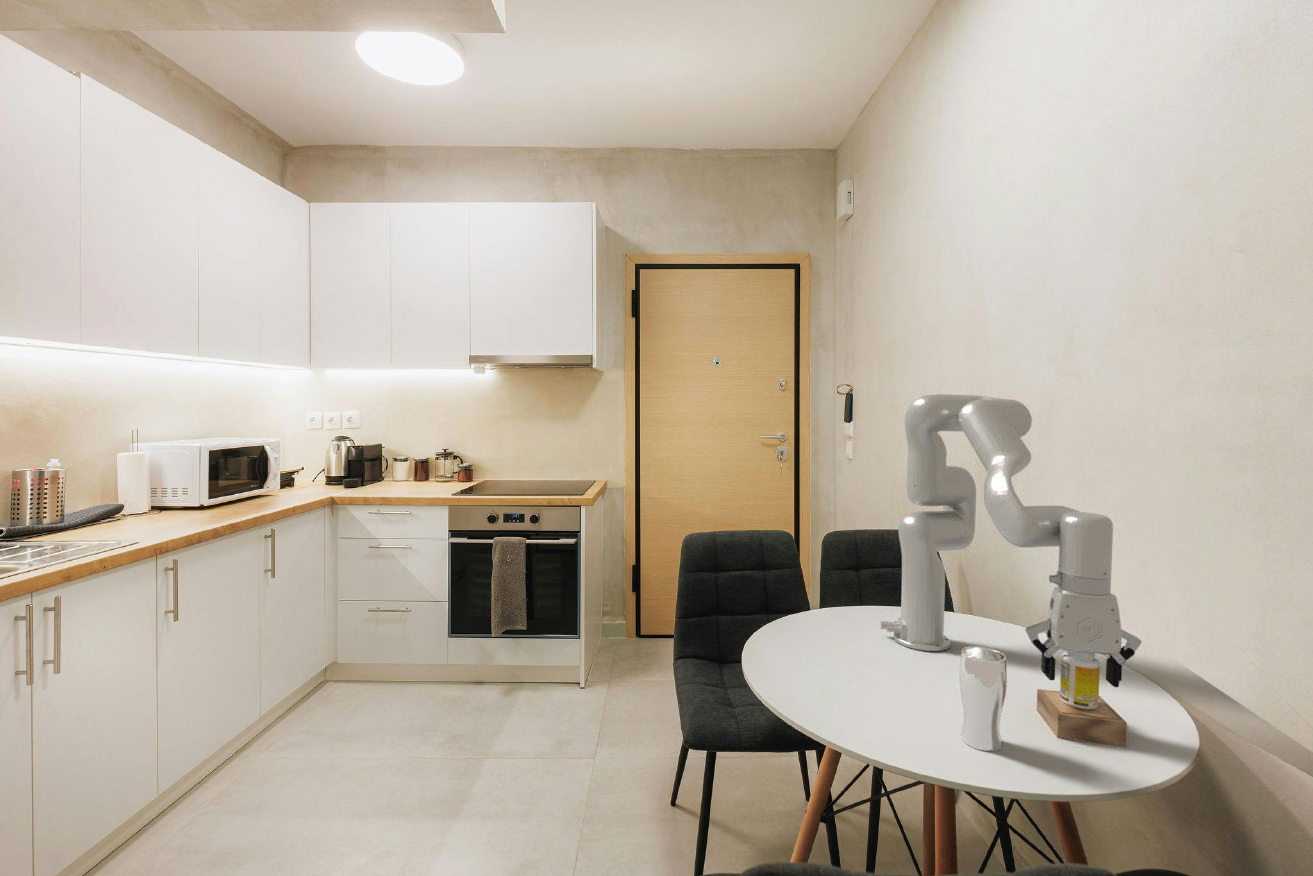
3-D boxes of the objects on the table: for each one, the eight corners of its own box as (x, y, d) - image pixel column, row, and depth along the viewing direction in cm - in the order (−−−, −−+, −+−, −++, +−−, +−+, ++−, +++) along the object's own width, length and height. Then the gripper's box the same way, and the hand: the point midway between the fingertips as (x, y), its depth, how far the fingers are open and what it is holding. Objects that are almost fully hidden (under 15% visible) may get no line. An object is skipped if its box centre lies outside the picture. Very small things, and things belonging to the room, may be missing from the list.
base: (1057, 737, 103) (1058, 713, 103) (1036, 710, 113) (1037, 688, 112) (1125, 746, 100) (1126, 721, 100) (1098, 717, 110) (1099, 695, 110)
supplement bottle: (1105, 707, 105) (1107, 649, 105) (1086, 713, 103) (1088, 654, 102) (1071, 694, 110) (1073, 638, 110) (1052, 699, 108) (1054, 643, 107)
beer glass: (949, 731, 105) (951, 646, 104) (987, 730, 105) (990, 645, 105) (973, 754, 98) (976, 662, 97) (1014, 752, 98) (1017, 661, 98)
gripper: (1035, 585, 104) (1032, 683, 105) (1153, 594, 100) (1149, 696, 100) (1021, 574, 111) (1018, 666, 112) (1130, 582, 107) (1126, 677, 108)
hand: (1080, 680), depth 106 cm, fingers open, 9 cm apart
